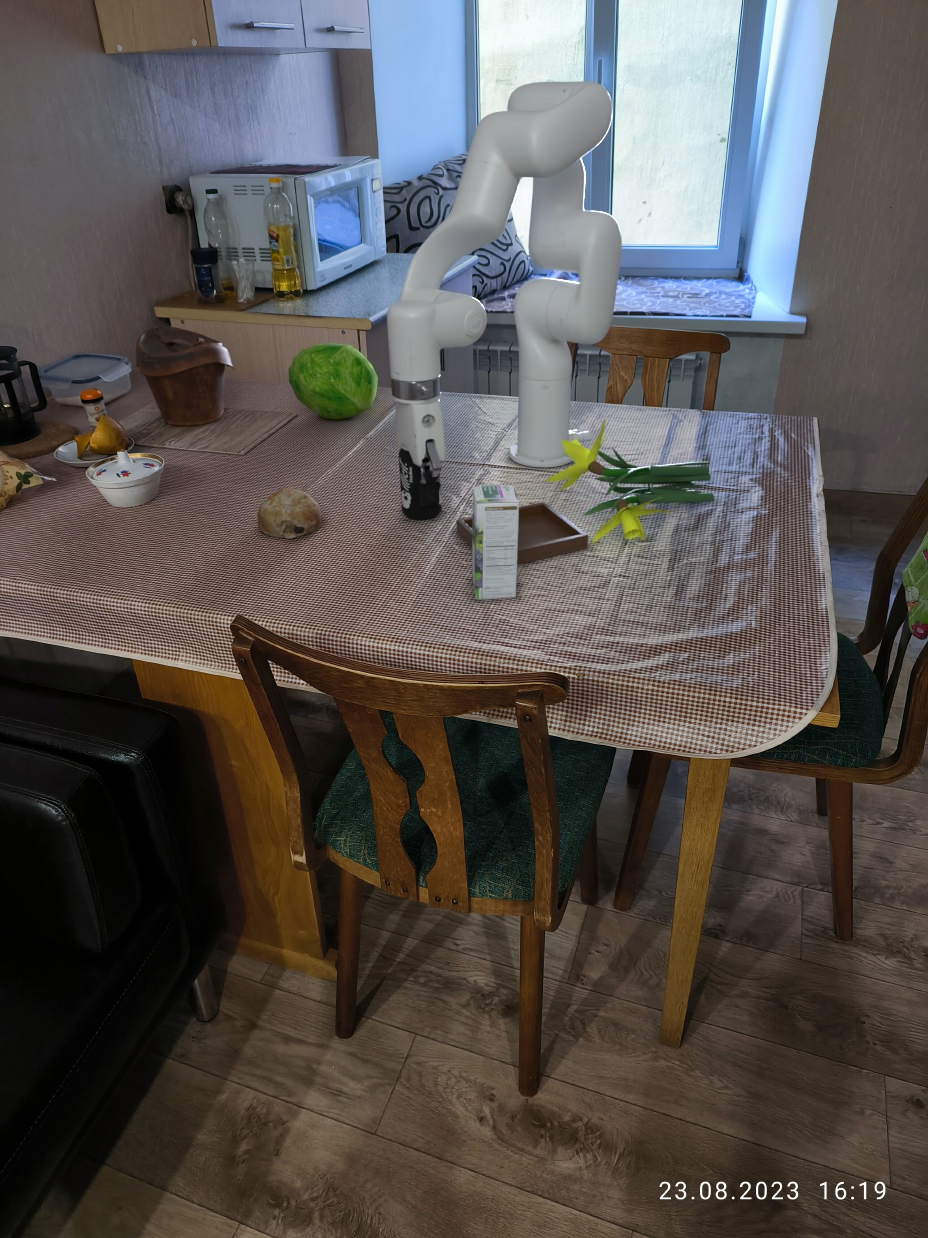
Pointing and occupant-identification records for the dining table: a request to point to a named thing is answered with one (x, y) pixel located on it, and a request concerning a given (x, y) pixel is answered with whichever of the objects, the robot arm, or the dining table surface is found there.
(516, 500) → the syrup box
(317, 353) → the lettuce
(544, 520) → the tray
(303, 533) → the bread roll
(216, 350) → the brown tapered bucket shape
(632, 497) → the daffodil flowers
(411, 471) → the beverage can
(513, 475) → the dining table surface
